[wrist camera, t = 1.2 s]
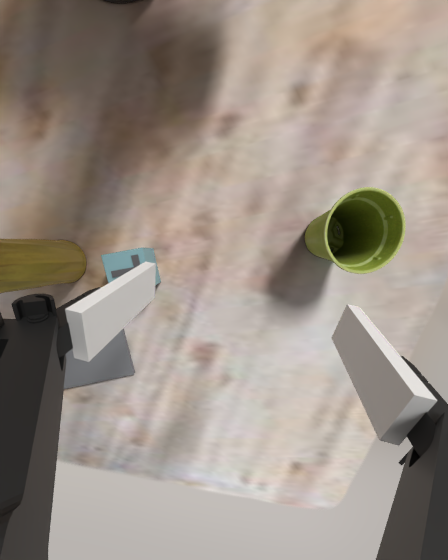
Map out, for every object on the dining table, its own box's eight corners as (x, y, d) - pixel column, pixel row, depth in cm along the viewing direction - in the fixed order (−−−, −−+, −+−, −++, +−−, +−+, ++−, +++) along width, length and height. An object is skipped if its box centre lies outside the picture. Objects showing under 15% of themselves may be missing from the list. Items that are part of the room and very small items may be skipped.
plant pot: (361, 252, 32) (416, 251, 24) (307, 278, 32) (341, 287, 24) (341, 194, 31) (391, 172, 22) (283, 221, 31) (312, 209, 22)
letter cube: (118, 254, 30) (100, 255, 25) (153, 248, 30) (141, 247, 25) (127, 288, 31) (111, 295, 26) (161, 281, 31) (151, 287, 26)
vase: (92, 278, 30) (-11, 300, 16) (49, 287, 30) (-93, 317, 16) (80, 236, 29) (-41, 220, 15) (36, 245, 29) (-128, 237, 15)
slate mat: (41, 319, 31) (38, 320, 30) (117, 304, 31) (115, 305, 30) (63, 387, 32) (60, 389, 31) (135, 372, 32) (133, 374, 32)
